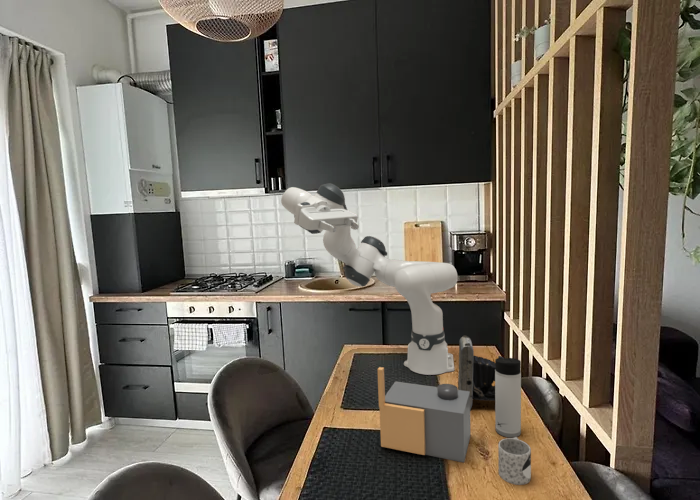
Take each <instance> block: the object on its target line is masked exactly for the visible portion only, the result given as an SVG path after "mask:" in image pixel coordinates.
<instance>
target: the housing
mask: <svg viewBox="0 0 700 500" xmlns="http://www.w3.org/2000/svg"><path fill="white" fill-rule="evenodd" d="M385 403H387V404H393V405H399V406H406V407H412V408H418V409H424V412H425V455H424V456H430V457H435V458H440V459H444V460H445V459H446V460H450V461H454V462H459V463H465V461H466V457H467V452H468V449H469V443H470V439H471V408H470V391H462V390H458V386H456V385H455V384H453V383H452V384H451V383H440V384H438V385H437V386H432V385H423V384H416V383H411V382H410V383H409V382H402V381H394V382H393V384H392V385H391V387H390V388H389V390H388V391H387V392H386V393H385Z"/></svg>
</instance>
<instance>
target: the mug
mask: <svg viewBox="0 0 700 500" xmlns="http://www.w3.org/2000/svg"><path fill="white" fill-rule="evenodd" d="M497 444H498V448H497V450H498V475H499V477H500V478H501V480H502V481H503V480H504V481H505V482H507V483H509V484H512V485H516V486H522V485H523V486H524V485H527V484H528V483H530V482H531V481H532V480H531V478H532V477H531V476H532V475H531V474H532V448H531V446H530V445H529V444H528V443H527V442H525V441H523V440H521V439H519V438H518V436H517V437H513V438H510V437H505V438H503V439H501V440H499V441H498V443H497Z"/></svg>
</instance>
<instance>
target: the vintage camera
mask: <svg viewBox="0 0 700 500" xmlns="http://www.w3.org/2000/svg"><path fill="white" fill-rule="evenodd" d="M458 344H459V345H458V346H459V348H458V376H457V380H458V381H457V385H458V386H457V388H458V390H462V391H470V409H472V408H473V407H472V406H473V400H476V401H477V400H478V401H491V402H492V401H494V402H495V385H493V384H494V383H495V367H496V366H495V361H492V360H491V359H488V358H484V357H482V356H478V355H474V347H473V343H472V339H471V338H470V337H469V336H467V335H463V336H462V337H460V339H459V341H458ZM497 358H504V357H503V356H501V355H498V357H497Z"/></svg>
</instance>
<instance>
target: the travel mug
mask: <svg viewBox="0 0 700 500" xmlns="http://www.w3.org/2000/svg"><path fill="white" fill-rule="evenodd" d="M494 362H495V366H496V367H495V382H494V386H495V401H494V402H495V405H494V411H495V412H494V413H495V414H494V415H495V419H494V420H495V422H494V423H495V424H494V425H495V431H496V433H497V434H498V435H500V436H502V437H505V438H514V437H517V438H518V437H519V436H520V435H521V433H522V414H521V413H522V371H521V368H522V365H521V364H522V363H521V362H522V361H521V360H520V359H517V358H514V357H508V358H507V357H505V358H504V357H503V358H498V357H497V358H496V359H494Z"/></svg>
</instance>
